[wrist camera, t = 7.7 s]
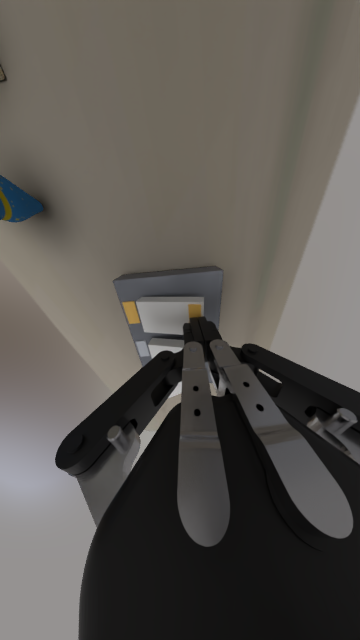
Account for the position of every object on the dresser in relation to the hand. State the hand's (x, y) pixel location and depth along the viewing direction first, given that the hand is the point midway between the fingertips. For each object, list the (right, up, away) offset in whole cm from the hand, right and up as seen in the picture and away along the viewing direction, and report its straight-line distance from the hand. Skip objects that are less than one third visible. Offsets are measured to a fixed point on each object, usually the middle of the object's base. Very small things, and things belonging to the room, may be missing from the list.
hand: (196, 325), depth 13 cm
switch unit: (-2, -2, +9) cm, 9 cm away
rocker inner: (-3, +1, +2) cm, 3 cm away
